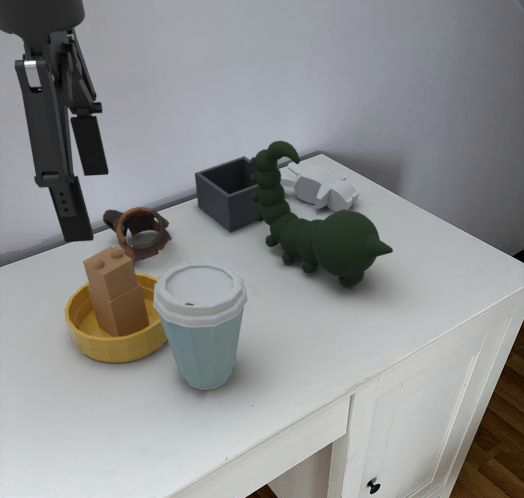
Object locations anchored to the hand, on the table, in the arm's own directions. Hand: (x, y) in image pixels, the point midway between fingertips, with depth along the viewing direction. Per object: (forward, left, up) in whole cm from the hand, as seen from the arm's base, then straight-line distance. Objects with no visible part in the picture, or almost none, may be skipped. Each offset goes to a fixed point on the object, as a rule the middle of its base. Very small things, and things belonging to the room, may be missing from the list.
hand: (88, 204), depth 61 cm
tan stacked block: (-3, +2, -21) cm, 21 cm away
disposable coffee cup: (+12, +4, -22) cm, 25 cm away
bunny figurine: (-5, +47, -22) cm, 52 cm away
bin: (-13, +35, -22) cm, 43 cm away
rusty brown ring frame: (-17, +16, -22) cm, 32 cm away
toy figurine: (+8, +31, -22) cm, 39 cm away
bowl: (-3, +2, -22) cm, 22 cm away
